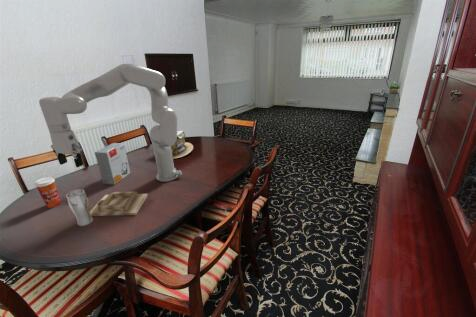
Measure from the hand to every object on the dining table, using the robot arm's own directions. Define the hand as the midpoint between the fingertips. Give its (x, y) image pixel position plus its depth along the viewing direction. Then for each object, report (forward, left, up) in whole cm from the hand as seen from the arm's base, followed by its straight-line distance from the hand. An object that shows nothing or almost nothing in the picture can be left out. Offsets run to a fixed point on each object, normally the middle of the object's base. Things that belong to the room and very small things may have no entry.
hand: (71, 164), depth 105 cm
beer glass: (-5, +10, -24) cm, 26 cm away
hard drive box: (-1, -30, -24) cm, 38 cm away
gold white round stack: (-28, -68, -24) cm, 78 cm away
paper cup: (+19, -4, -24) cm, 30 cm away
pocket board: (-15, -2, -24) cm, 28 cm away
